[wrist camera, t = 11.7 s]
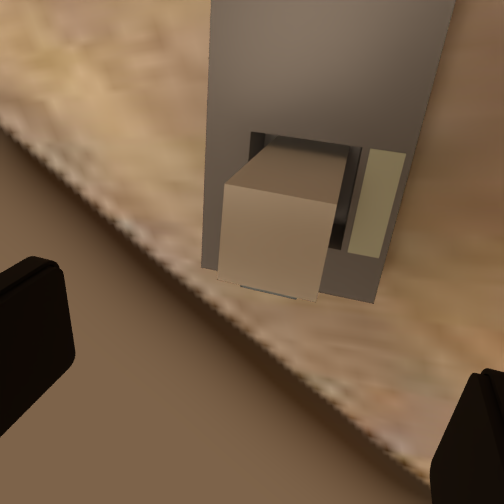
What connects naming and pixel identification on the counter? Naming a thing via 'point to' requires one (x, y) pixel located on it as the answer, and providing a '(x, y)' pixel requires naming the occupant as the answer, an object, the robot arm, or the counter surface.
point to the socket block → (324, 109)
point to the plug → (281, 217)
